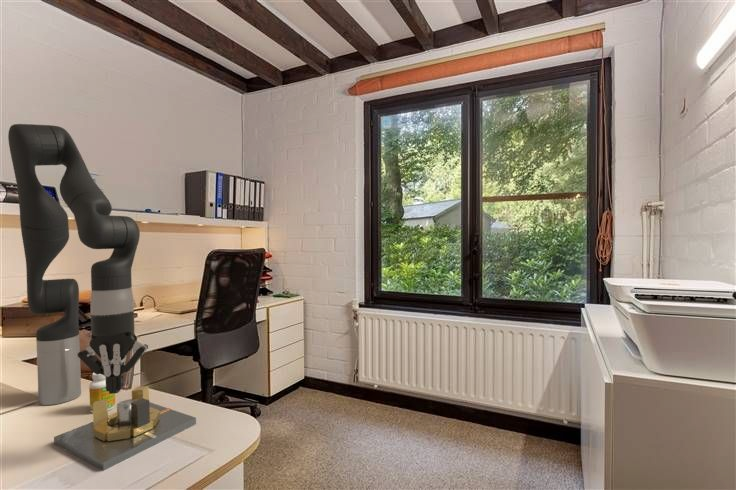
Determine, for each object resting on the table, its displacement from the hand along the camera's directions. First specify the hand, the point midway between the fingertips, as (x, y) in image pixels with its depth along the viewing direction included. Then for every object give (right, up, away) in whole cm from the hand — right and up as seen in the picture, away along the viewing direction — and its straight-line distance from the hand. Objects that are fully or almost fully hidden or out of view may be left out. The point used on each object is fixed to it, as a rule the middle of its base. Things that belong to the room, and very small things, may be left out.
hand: (115, 392), depth 80 cm
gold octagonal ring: (-1, -10, +6) cm, 12 cm away
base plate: (-1, -12, +6) cm, 13 cm away
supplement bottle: (-16, -12, +19) cm, 27 cm away
